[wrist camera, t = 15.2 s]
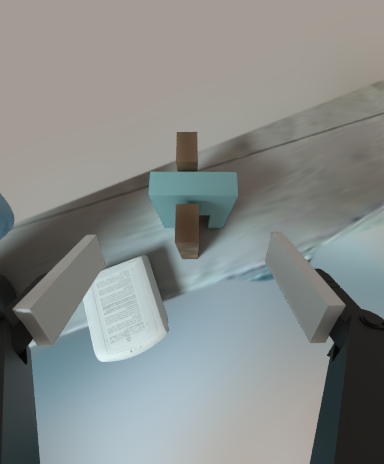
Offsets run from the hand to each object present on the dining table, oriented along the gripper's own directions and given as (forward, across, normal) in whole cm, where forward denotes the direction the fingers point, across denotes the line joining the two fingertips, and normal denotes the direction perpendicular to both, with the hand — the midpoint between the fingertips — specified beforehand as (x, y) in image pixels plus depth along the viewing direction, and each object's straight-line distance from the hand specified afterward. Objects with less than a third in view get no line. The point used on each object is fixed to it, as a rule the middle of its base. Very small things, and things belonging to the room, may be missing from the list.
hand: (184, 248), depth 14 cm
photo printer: (+10, -11, -10) cm, 18 cm away
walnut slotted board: (+18, 0, -6) cm, 19 cm away
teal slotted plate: (+18, +1, -6) cm, 19 cm away
